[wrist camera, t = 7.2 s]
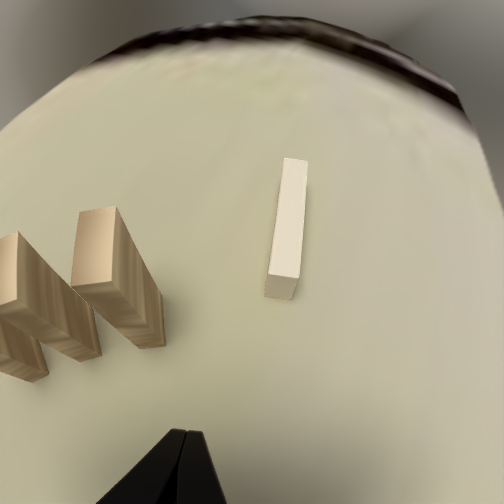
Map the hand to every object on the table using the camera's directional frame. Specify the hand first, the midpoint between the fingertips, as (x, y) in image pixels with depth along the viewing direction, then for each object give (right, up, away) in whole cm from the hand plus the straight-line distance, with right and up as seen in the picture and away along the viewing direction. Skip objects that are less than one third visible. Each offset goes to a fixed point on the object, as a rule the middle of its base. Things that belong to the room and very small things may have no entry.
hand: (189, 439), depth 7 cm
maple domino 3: (-6, 0, +15) cm, 16 cm away
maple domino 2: (-11, -1, +14) cm, 18 cm away
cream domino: (+4, +2, +15) cm, 16 cm away
